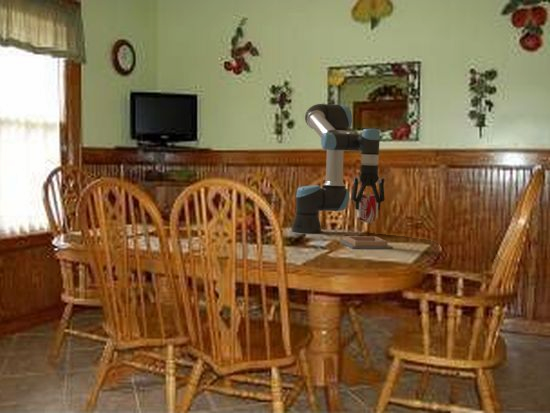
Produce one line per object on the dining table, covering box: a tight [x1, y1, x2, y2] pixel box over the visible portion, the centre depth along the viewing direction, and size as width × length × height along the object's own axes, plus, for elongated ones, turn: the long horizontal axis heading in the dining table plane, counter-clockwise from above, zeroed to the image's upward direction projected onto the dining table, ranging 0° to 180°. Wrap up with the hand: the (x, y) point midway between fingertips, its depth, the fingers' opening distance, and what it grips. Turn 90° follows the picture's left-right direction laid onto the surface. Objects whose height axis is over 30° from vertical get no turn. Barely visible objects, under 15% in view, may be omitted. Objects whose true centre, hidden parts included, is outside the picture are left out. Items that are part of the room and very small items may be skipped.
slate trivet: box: [339, 235, 394, 250], centre depth 254 cm, size 18×18×3 cm
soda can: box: [358, 193, 376, 224], centre depth 253 cm, size 7×7×12 cm
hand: (367, 217), depth 253 cm, fingers closed on soda can, 7 cm apart
